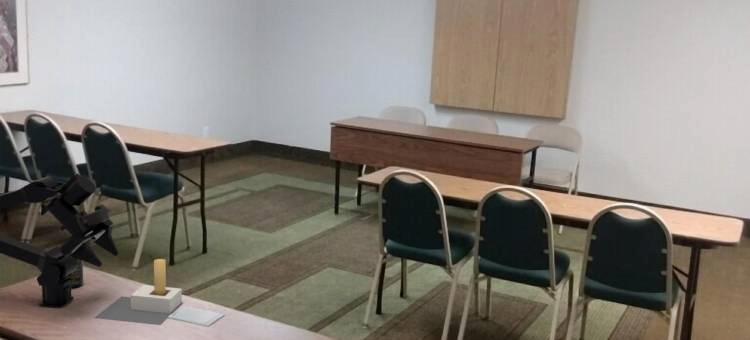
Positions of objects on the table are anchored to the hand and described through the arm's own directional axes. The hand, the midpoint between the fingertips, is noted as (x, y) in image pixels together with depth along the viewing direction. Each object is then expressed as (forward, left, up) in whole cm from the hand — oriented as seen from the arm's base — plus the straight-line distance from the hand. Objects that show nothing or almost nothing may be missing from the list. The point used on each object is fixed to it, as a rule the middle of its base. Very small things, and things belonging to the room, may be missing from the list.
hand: (109, 260), depth 196 cm
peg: (+12, +4, -13) cm, 18 cm away
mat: (+9, 0, -14) cm, 16 cm away
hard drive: (+24, -1, -14) cm, 28 cm away
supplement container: (-18, +13, -14) cm, 26 cm away
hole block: (+12, +4, -13) cm, 18 cm away
